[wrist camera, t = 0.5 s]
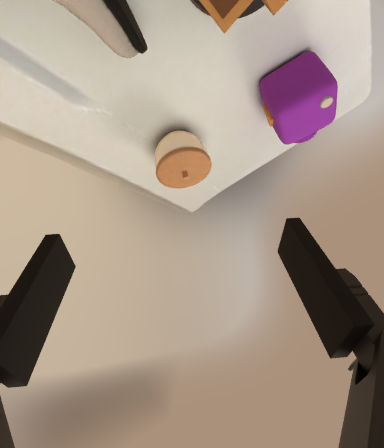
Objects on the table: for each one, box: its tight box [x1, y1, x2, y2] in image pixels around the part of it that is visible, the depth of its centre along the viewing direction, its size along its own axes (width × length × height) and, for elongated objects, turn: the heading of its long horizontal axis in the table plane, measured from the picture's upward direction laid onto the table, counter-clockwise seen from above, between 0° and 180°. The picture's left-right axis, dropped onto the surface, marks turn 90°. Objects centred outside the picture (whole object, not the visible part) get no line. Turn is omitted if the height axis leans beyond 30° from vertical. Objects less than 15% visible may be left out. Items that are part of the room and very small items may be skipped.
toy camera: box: [260, 51, 337, 144], centre depth 42 cm, size 11×14×10 cm
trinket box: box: [155, 130, 211, 188], centre depth 47 cm, size 11×11×9 cm
